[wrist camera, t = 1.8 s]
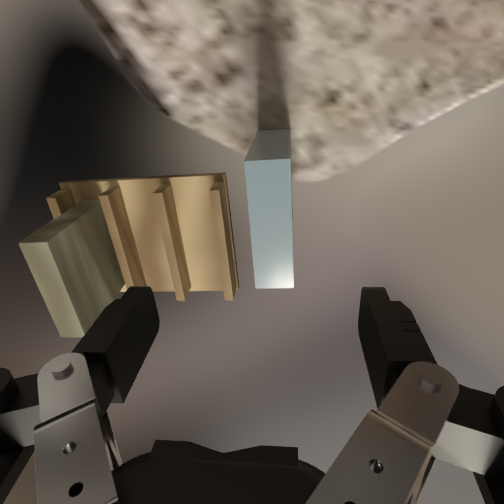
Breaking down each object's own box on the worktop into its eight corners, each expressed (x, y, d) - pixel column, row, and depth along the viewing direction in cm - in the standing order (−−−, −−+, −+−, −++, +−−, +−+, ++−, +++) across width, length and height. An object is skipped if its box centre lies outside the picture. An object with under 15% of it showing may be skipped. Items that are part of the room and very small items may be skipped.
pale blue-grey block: (290, 128, 25) (290, 158, 18) (292, 227, 29) (293, 288, 21) (258, 130, 26) (244, 161, 18) (264, 228, 29) (255, 288, 22)
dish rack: (225, 172, 27) (201, 214, 20) (239, 286, 33) (224, 353, 25) (63, 181, 29) (-16, 222, 22) (100, 288, 34) (48, 351, 27)
